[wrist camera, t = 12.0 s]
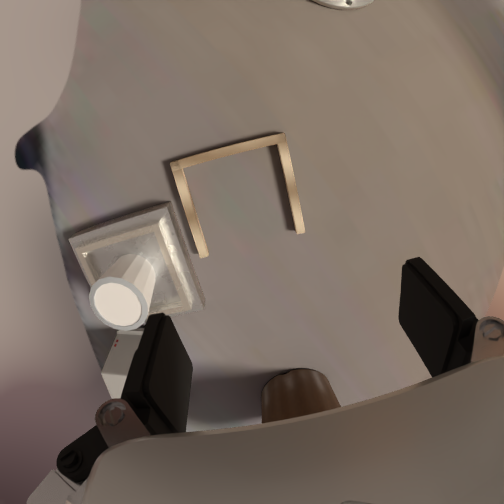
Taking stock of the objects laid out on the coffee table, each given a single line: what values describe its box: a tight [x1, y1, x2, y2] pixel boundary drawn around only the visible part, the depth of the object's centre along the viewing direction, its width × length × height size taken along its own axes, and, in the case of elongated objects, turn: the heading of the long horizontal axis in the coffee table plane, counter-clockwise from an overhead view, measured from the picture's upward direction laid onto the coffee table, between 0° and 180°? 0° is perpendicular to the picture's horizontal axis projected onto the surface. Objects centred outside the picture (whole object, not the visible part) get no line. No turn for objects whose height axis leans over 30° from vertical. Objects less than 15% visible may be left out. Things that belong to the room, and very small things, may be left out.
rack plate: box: [69, 201, 205, 322], centre depth 37 cm, size 14×14×4 cm
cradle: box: [170, 133, 305, 258], centre depth 35 cm, size 12×13×1 cm
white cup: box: [89, 254, 155, 331], centre depth 33 cm, size 7×7×7 cm
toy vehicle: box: [101, 328, 144, 399], centre depth 42 cm, size 9×18×10 cm, turn 179°
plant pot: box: [261, 369, 341, 423], centre depth 43 cm, size 16×16×16 cm
